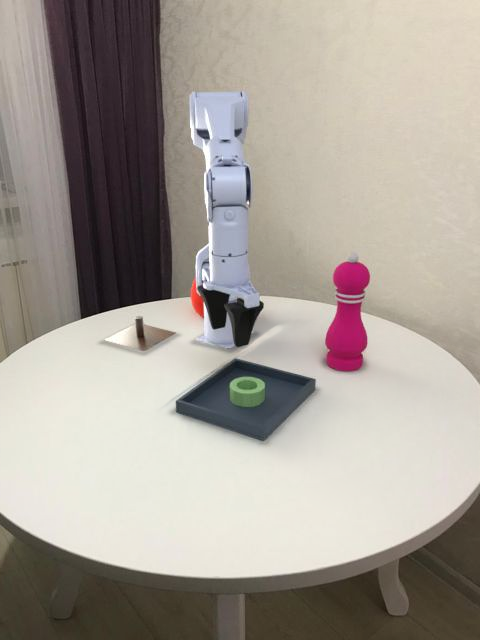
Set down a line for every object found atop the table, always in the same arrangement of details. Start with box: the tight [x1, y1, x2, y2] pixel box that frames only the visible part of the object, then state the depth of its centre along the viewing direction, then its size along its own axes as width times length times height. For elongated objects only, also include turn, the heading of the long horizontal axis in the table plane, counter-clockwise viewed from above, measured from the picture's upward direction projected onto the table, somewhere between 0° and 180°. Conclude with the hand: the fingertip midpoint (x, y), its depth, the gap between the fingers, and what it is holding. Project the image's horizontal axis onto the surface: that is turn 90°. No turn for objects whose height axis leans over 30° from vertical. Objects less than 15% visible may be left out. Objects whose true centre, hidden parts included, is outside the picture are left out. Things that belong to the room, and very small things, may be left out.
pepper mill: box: [324, 252, 371, 372], centre depth 100 cm, size 7×7×20 cm
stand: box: [103, 315, 177, 352], centre depth 113 cm, size 10×10×4 cm
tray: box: [175, 357, 317, 442], centre depth 92 cm, size 17×15×2 cm
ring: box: [230, 377, 265, 407], centre depth 91 cm, size 5×5×2 cm
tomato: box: [190, 277, 204, 318], centre depth 123 cm, size 11×11×9 cm
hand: (229, 336), depth 92 cm, fingers open, 7 cm apart
